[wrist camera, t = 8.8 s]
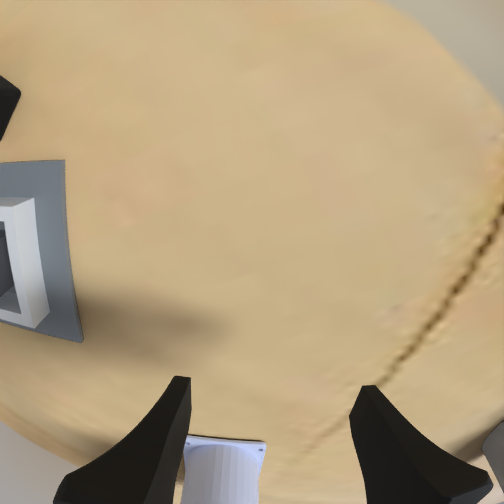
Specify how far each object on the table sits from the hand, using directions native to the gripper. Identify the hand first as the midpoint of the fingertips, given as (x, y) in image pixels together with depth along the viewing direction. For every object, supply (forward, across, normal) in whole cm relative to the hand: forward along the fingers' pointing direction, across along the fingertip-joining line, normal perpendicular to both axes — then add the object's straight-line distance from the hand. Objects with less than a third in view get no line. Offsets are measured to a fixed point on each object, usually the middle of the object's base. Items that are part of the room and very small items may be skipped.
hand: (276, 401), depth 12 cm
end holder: (+9, +21, -1) cm, 23 cm away
